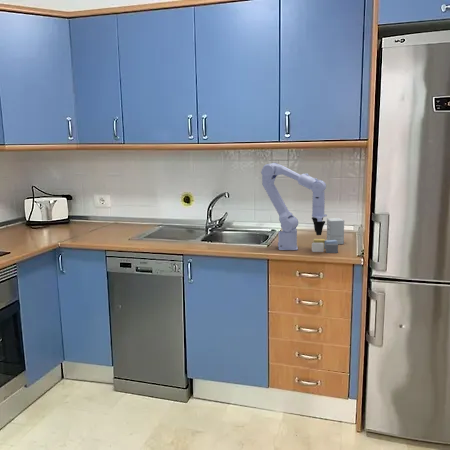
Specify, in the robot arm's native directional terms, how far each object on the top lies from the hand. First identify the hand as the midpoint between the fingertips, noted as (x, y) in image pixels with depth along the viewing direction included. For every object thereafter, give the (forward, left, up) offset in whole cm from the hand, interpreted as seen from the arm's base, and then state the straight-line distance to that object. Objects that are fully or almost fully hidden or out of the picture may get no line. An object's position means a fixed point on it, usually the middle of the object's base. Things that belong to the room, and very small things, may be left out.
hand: (318, 233), depth 228 cm
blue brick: (+7, +6, -9) cm, 13 cm away
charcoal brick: (+6, -2, -9) cm, 11 cm away
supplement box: (+10, +17, -9) cm, 22 cm away
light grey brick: (0, 0, -9) cm, 9 cm away
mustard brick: (+1, +8, -9) cm, 12 cm away
